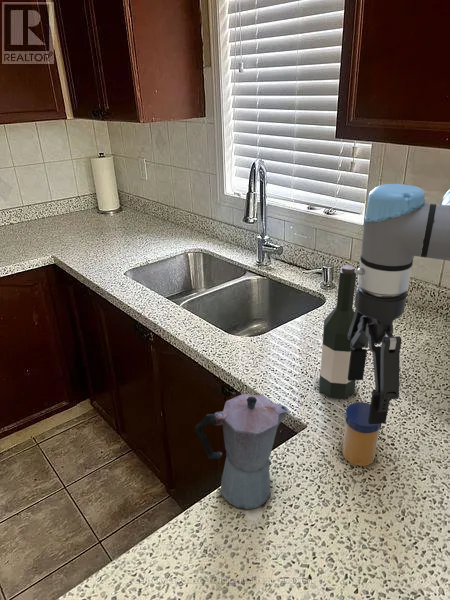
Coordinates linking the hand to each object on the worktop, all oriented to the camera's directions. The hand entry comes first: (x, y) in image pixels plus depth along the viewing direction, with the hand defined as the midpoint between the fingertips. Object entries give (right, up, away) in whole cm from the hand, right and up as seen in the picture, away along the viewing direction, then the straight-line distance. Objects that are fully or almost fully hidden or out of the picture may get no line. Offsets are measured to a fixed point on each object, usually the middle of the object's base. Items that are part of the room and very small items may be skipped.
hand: (365, 399), depth 79 cm
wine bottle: (+1, -3, +24) cm, 24 cm away
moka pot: (-21, -16, -1) cm, 27 cm away
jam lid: (0, -3, +2) cm, 4 cm away
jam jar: (+1, -12, +6) cm, 13 cm away
